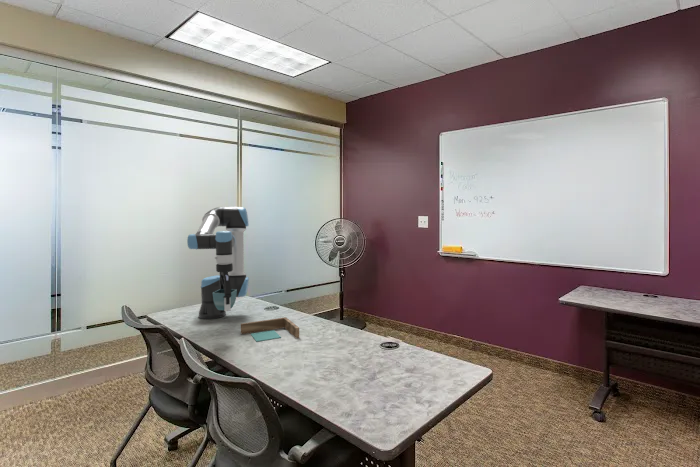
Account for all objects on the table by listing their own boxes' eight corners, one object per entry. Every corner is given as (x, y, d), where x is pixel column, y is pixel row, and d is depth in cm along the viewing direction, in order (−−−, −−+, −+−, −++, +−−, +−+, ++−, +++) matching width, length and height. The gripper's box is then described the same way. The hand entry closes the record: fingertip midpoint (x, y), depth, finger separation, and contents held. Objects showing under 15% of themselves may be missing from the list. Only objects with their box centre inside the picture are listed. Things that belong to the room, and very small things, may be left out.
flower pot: (237, 307, 182) (237, 289, 181) (230, 312, 173) (229, 293, 172) (220, 306, 183) (220, 288, 182) (212, 311, 174) (212, 292, 173)
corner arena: (240, 333, 186) (240, 323, 186) (286, 326, 197) (286, 317, 197) (250, 346, 168) (249, 335, 168) (299, 337, 180) (299, 327, 180)
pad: (250, 334, 184) (250, 333, 184) (273, 330, 190) (273, 329, 190) (256, 341, 174) (256, 341, 174) (281, 337, 180) (281, 337, 180)
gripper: (212, 260, 185) (213, 302, 186) (220, 267, 164) (221, 315, 166) (227, 259, 188) (228, 301, 190) (237, 266, 168) (238, 312, 169)
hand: (225, 307), depth 178 cm, fingers closed on flower pot, 11 cm apart
